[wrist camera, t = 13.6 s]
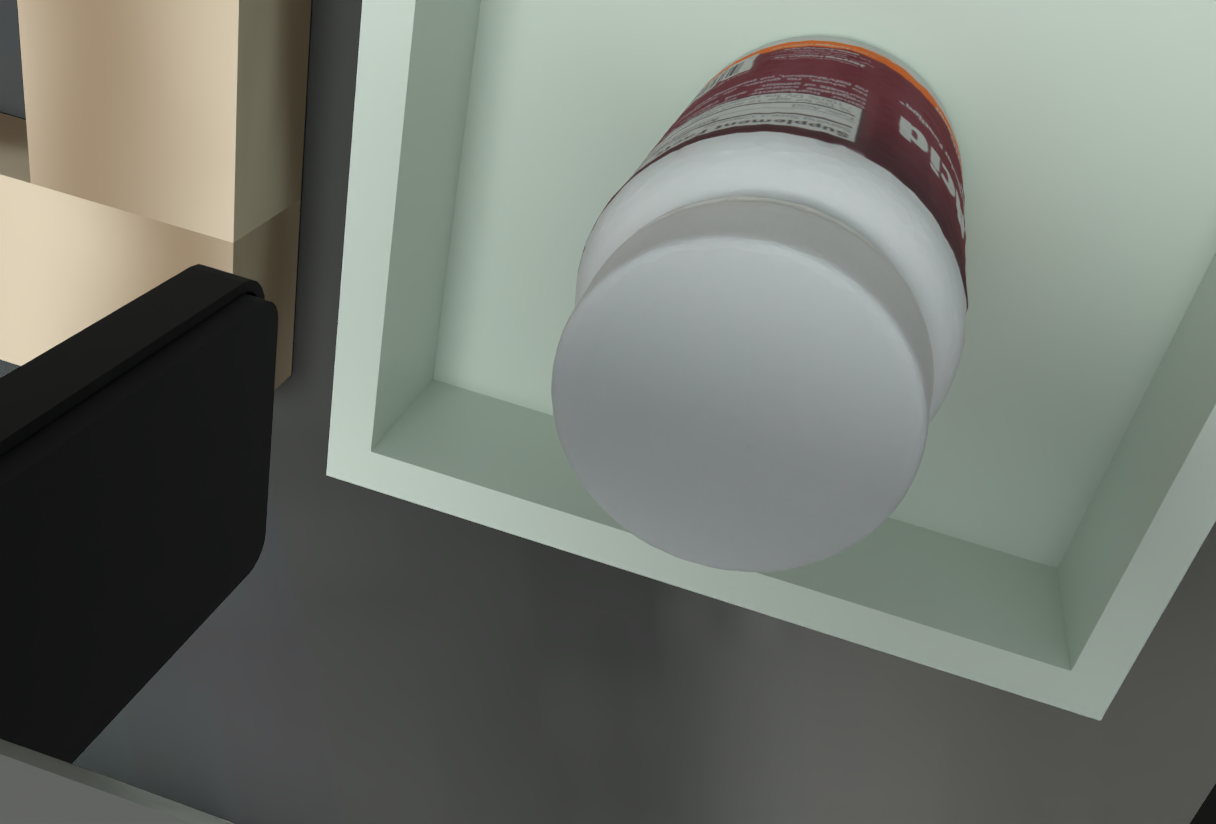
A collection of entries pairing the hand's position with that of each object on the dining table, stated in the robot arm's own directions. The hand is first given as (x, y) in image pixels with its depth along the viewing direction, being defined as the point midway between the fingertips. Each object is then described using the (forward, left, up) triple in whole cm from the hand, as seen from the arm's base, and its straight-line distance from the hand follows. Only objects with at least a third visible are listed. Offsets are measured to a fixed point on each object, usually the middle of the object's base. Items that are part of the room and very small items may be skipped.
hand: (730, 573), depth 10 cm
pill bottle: (0, 0, -11) cm, 11 cm away
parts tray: (0, -1, -11) cm, 11 cm away
